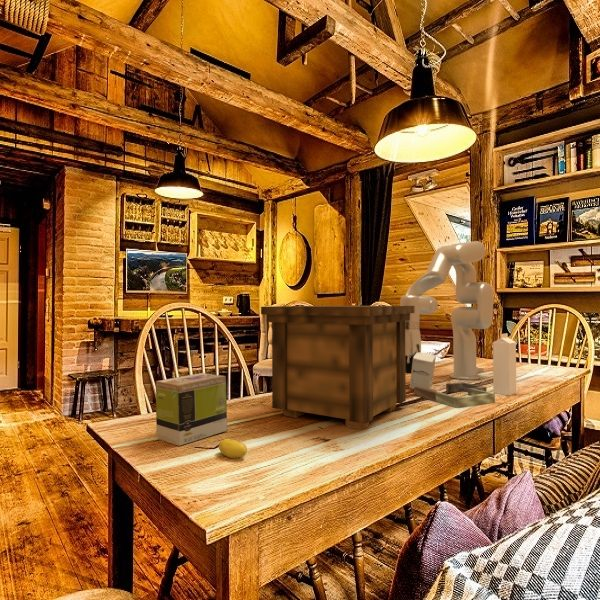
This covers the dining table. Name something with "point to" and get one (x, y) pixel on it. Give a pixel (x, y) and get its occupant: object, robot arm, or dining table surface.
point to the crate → (338, 360)
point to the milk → (504, 366)
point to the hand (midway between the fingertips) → (408, 373)
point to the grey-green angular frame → (475, 397)
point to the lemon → (232, 448)
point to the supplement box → (422, 370)
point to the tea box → (190, 407)
